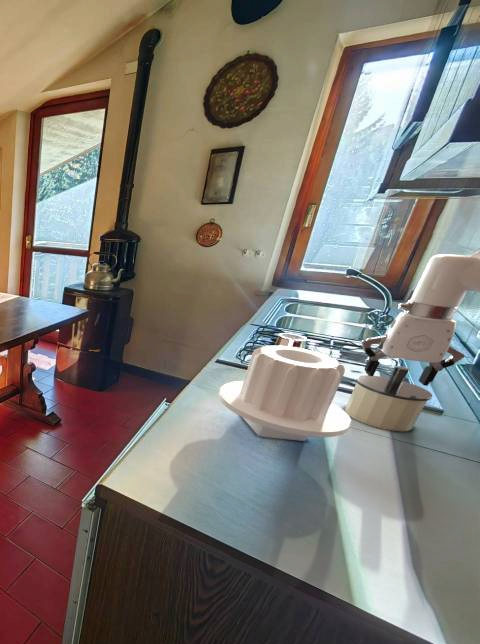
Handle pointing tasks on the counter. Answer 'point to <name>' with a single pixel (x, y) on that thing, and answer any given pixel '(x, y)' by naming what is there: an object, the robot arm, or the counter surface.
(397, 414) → the faceted cream dish
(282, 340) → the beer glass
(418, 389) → the lid
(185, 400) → the counter surface
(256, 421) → the ribbed cylinder on disc
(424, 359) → the robot arm
